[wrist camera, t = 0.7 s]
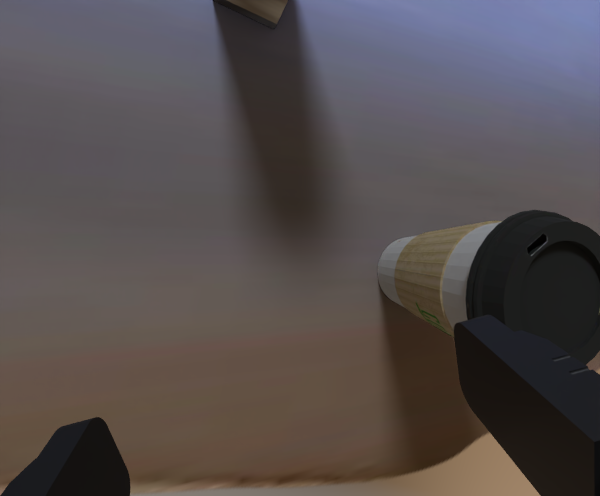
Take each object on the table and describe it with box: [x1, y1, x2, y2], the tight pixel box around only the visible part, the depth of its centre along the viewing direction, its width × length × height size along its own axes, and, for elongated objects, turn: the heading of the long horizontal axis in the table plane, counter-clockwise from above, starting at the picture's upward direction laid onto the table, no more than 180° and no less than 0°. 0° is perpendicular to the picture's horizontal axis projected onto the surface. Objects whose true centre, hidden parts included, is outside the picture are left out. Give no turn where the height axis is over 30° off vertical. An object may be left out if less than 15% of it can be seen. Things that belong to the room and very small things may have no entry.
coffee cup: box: [378, 210, 600, 365], centre depth 28 cm, size 10×10×15 cm
